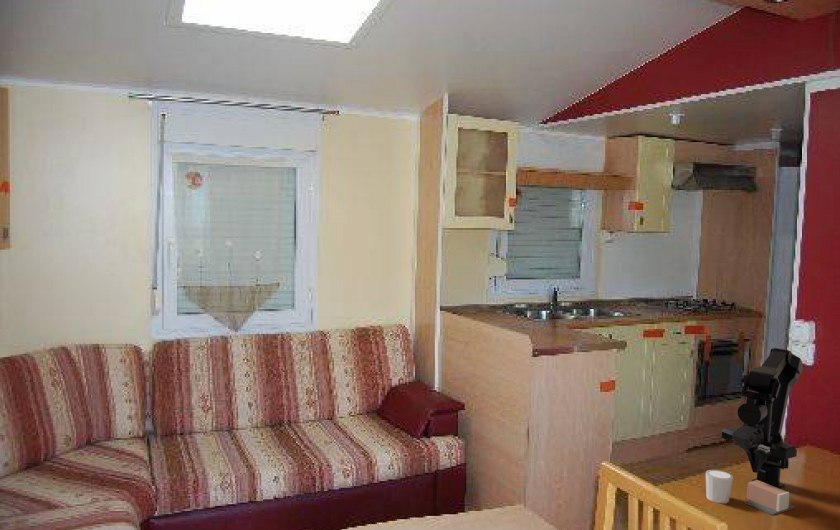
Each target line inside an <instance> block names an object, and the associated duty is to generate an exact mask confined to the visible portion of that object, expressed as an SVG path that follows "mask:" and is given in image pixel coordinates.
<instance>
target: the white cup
mask: <svg viewBox="0 0 840 530" xmlns="http://www.w3.org/2000/svg"><path fill="white" fill-rule="evenodd" d="M733 479H734V477H733V475H732V474H731V473H729V472H726V471H724V470H719V469H708V470H706V471H705V490H706V492H705V493H706V498H707V500H708V501H711V502H714V503H718V504H727V503H729V502H730V497H731V491H732V486H733Z"/></svg>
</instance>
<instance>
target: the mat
mask: <svg viewBox="0 0 840 530" xmlns="http://www.w3.org/2000/svg"><path fill="white" fill-rule="evenodd" d="M743 504H744V505H748V506H749V507H752V508H754V509H757V510H758V511H760V512H764V513H766V514H767V515H770V516H776V515H778V514H781V513H784V512H787V511H790V510H794V509H795V508H796V506H794V505H792V504H789V505H788V509H785V510H782V511H779V512H778V511H776V510H773V509H771V508H769V507H766V506H764V505H762V504H759V503H757V502H754V501H752V500H750V499H747V500H745V501H743Z"/></svg>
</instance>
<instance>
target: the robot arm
mask: <svg viewBox="0 0 840 530" xmlns="http://www.w3.org/2000/svg"><path fill="white" fill-rule="evenodd" d="M803 368H804V363H803V361H802V359H801V357H799V356H797V355H796V354H793V352H792V351H791V350H789V349H785V348H779V347H778V348H777V347H773V348H772V347H771V348H770V351H769V354H768V356H767V358H766V359H765V360H764V362H763V363H762V364H761V366H758V367H754V368H752V369H751V370H749V372H748V373H746V375H745V378H744V382H743V386H742V390H741V394H740V396H741V397H746V401H745V402H744V403H742V404H741V405H739V406H738V408H737V417H738V419H739V420H740V421H741V422H742V423H743V425H742V426H741V427H737V426H734V425H733V426H727V427H723V428H722V430H721V431H720V439H723V440H725V441H733V445H734V446H739V448H742V449H743V450H744V451H745V453H746V455H747V457H748V458H747V459H748V460H749V465H750V467H751V471H752V473H754V474H756V478H753V479H751V482H752V481H755V480H759V481H761V482H764V483H766V484H769V485H772V486H774V487H777V488H779V489H780V488H782V487H785V483H784V482H781V471H782V470H785V469H789V464H790V463H789V462H790V460H789V459H792V458H795V457H796V458H797V457H798V455H797V454H798V451H797V448H796V446H795V445H793V444H790V443H787V442H785V440H784V438H783V435H782V431H783V427H784V422H785V417H786V413H787V412H786V411H787V405H788V401H789V396H790V390H791V388H792V387H793V386H794V385H795V384H796V383H797V382H798V381H799V377H800V375H802V373H803Z"/></svg>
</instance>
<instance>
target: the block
mask: <svg viewBox="0 0 840 530" xmlns="http://www.w3.org/2000/svg"><path fill="white" fill-rule="evenodd" d="M746 499H747V500H752V501H754V502H757V503H759V504H762V505H764V506H766V507H769V508H771V509H773V510H776V511H778V512H779V511H782V510H785V509H788V505H790V504H789V502H790V492H789V491H786V490H784V489H781V488H780V487H779V488H777V487H774V486H772V485H769V484H766V483H764V482H761V481H759V480H755V481H752V480H751V481H749V482H747V488H746Z"/></svg>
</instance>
